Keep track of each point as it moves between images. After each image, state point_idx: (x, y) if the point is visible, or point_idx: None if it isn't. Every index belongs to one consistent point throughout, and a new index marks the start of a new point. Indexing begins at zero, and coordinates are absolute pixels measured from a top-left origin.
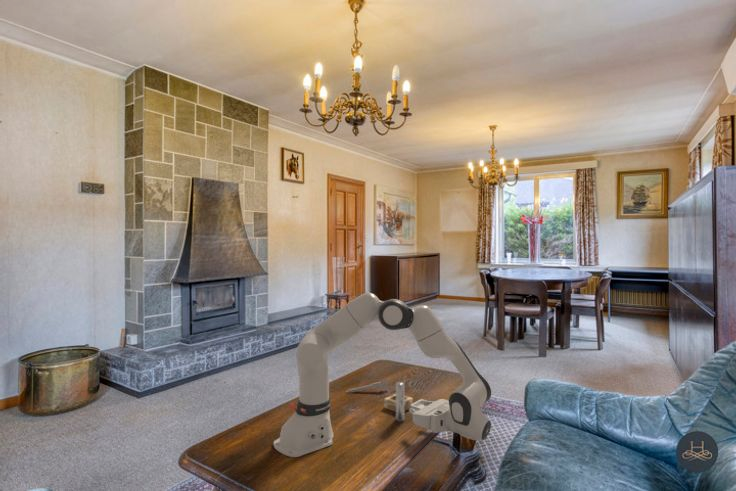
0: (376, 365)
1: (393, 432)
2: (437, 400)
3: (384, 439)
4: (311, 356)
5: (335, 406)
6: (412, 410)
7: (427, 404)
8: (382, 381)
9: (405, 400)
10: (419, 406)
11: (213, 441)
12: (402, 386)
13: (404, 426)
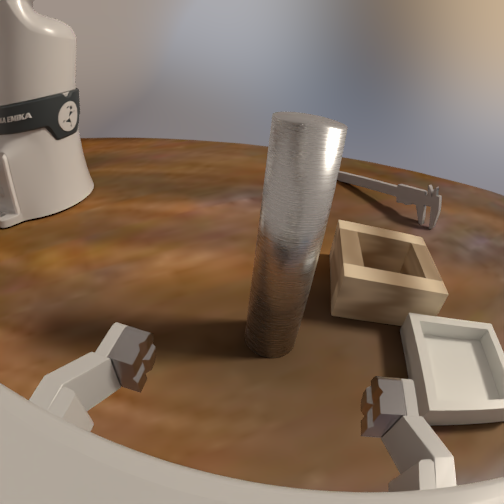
0: (482, 191)
1: None
2: (475, 492)
3: (35, 336)
4: None
5: (234, 176)
6: (99, 357)
7: (382, 428)
8: (428, 191)
9: (400, 279)
10: (450, 348)
11: None
12: (294, 138)
13: (203, 383)
